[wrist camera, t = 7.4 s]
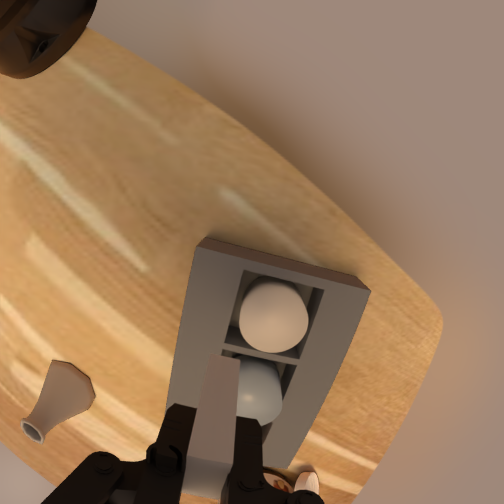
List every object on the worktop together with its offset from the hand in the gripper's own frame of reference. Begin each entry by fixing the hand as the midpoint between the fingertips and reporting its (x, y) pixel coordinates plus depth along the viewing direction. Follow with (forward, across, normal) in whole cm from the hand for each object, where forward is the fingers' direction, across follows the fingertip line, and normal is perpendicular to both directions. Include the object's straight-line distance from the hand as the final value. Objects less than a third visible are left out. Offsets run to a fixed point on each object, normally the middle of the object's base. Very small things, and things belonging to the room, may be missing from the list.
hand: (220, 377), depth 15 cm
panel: (+13, +3, -7) cm, 15 cm away
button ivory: (+12, +3, 0) cm, 13 cm away
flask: (+13, -17, -18) cm, 28 cm away
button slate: (+11, +3, -7) cm, 13 cm away
